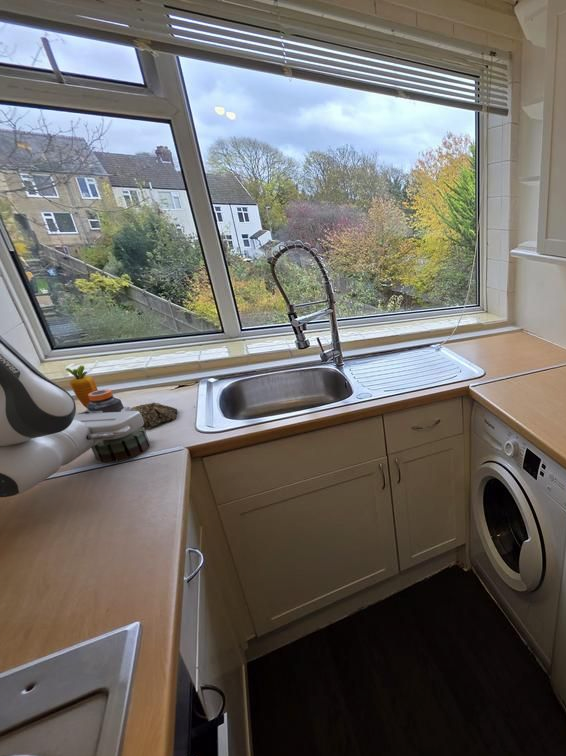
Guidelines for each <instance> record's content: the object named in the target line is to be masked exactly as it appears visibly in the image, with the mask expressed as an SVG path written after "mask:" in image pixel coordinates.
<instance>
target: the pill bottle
mask: <svg viewBox="0 0 566 756" xmlns="http://www.w3.org/2000/svg"><path fill="white" fill-rule="evenodd" d="M88 397H89V399H90V401H91V402H89V403H88V405H87V408H88V411H89V413H108V412H118V409H120V408H121V407H124V405H123V402H122V400H121V398H119V397H118V396H114V394H113V392H112V389H109V388H104V389H98V391H94V392H91V393H89V394H88ZM87 408H86V409H87Z"/></svg>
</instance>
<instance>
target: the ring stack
mask: <svg viewBox="0 0 566 756" xmlns="http://www.w3.org/2000/svg"><path fill="white" fill-rule="evenodd" d="M150 447H151V442H150V439H149V437H148V434H147V432H146V428H143V427H140V428H139V429H137V430H135V431H134V432H132V433H130V434H128V435H126V436H124V437H122V438H118V439H109V440H94V443H93V445H92V447H91V448H90V449H91V451H92V453H93V455H94V458H95V460H96V461H97V462H99V463H104V464H108V463H109V464H111V463H115V462H117V463H118V462H122V461H125V460H129V458H131V459H133V458H135V457H138V456H139V455H141V454H142V453H145V452H146V451H147V450H148V449H150Z"/></svg>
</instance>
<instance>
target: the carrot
mask: <svg viewBox="0 0 566 756" xmlns="http://www.w3.org/2000/svg"><path fill="white" fill-rule="evenodd" d="M65 370H66V372H69V373H70V374H71V375H72V376H73V377H75V378H73V379H70V381H69V385H70V386H71V389H72V391H73V393H74V395H75V396H76V398H77V400H78V401H79V402H80V403H81V405H83V407H85V409H88V408H87V405H88V403H89V402H91V401H90V399H89V397H88V394H89V393H91V392H94V391H98V390H99V389H98V387H97V384H96V381H95V380H94V378H92V377H91V376H88V375H87V374H88V371H86V370H85V365H83V364H82V365H81V364H80V365H79V366H77V368H74V369H71V368H69V367H67V368H66V369H65ZM84 370H85V371H84Z"/></svg>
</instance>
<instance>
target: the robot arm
mask: <svg viewBox="0 0 566 756" xmlns="http://www.w3.org/2000/svg"><path fill="white" fill-rule="evenodd" d="M131 408H132V407H130V406H123V407H121V408H120V409H118V412H108V413H89V411H88V409H87V408H85V409H84V410H83V411H79V412H77V404H76V401H75V399H74V398H73V396H72V395H71V394H70V393H69V392H68V391H67V390H66V389H65V388H63V387H62V386H61V385H60V384H57V383H56V382H54V381H53V380H51V379H50V378H48V377H47V376H46V375H45V374H43V373H42V372H41V371H39V369H37V368H36V366H34V365H33V364H32V363H31V362H30V361H29V360H27V359H26V358H25V357H24V356H23V355H22V354H21V353H20V352H19V351H18V350H16V349H15V348H14V347H13V346H12V345H11V343H9V342H8V341H7V340H6V339H5V338H3V337H2V336H1V335H0V498H9V497H15V496H18V495H20V494H23V493H25V492H27V491H29V490H31V489H33V488H35V487H36V486H38V485H40V484H41V483H43V482H45V481H46V480H47V479H49V478H50V477H52V476H53V475H55V474H56V473H57V472H58V471H59V470H60V469H61V467H63V466H67V465H68V464H70V463H72V462H73V461H74V460H76V459H78V458H79V457H80V456H82V455H83V454H85V453H87V451H88V452H89V450H90V449H91V447H92V445H93V443H94V440H109V439H118V438H122V437H124V436H126V435H128V434H130V433H132V432H134V431H135V430H137V429H139V428H140V427H142V426H143V425H144V421H143V418H142V415H141V414H140V412H139V411H131Z"/></svg>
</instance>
